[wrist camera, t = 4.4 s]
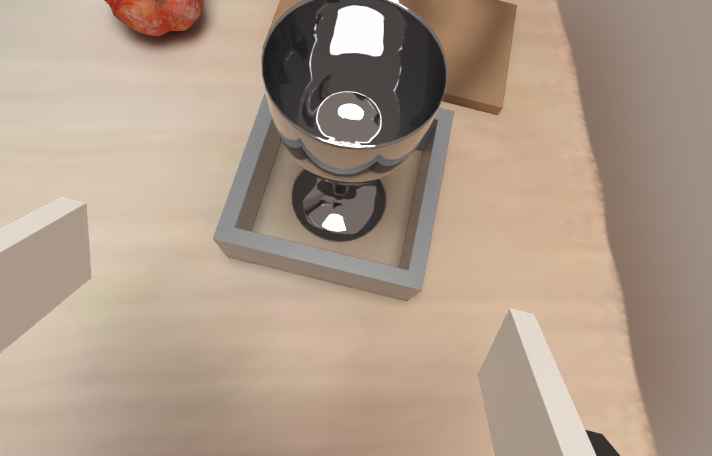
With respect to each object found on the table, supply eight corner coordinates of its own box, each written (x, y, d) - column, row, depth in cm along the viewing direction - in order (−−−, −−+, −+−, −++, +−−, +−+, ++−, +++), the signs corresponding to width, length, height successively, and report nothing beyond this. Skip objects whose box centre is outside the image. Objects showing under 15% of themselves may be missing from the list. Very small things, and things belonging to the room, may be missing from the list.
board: (264, 56, 36) (262, 47, 35) (299, -40, 39) (298, -50, 38) (497, 114, 36) (502, 107, 35) (512, 13, 39) (516, 5, 38)
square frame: (227, 256, 30) (212, 238, 26) (279, 103, 34) (274, 66, 30) (406, 301, 30) (421, 290, 26) (437, 142, 34) (454, 111, 30)
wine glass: (368, 137, 34) (405, -28, 20) (407, 226, 32) (479, 115, 18) (272, 166, 33) (236, 11, 18) (306, 262, 31) (296, 171, 16)
